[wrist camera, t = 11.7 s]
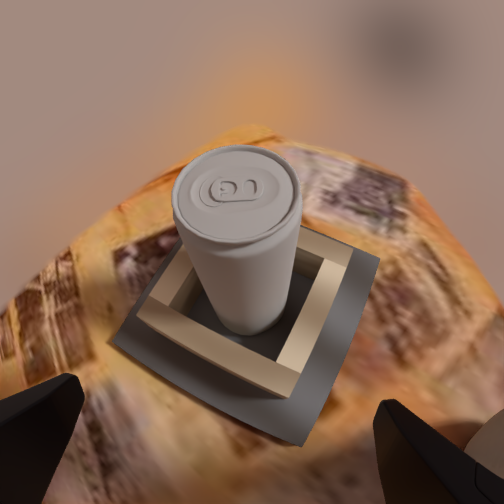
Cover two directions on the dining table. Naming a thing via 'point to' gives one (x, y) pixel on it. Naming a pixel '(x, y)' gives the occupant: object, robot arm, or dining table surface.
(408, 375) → the dining table surface
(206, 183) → the beverage can
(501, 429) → the grey bottle
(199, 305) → the can collar
